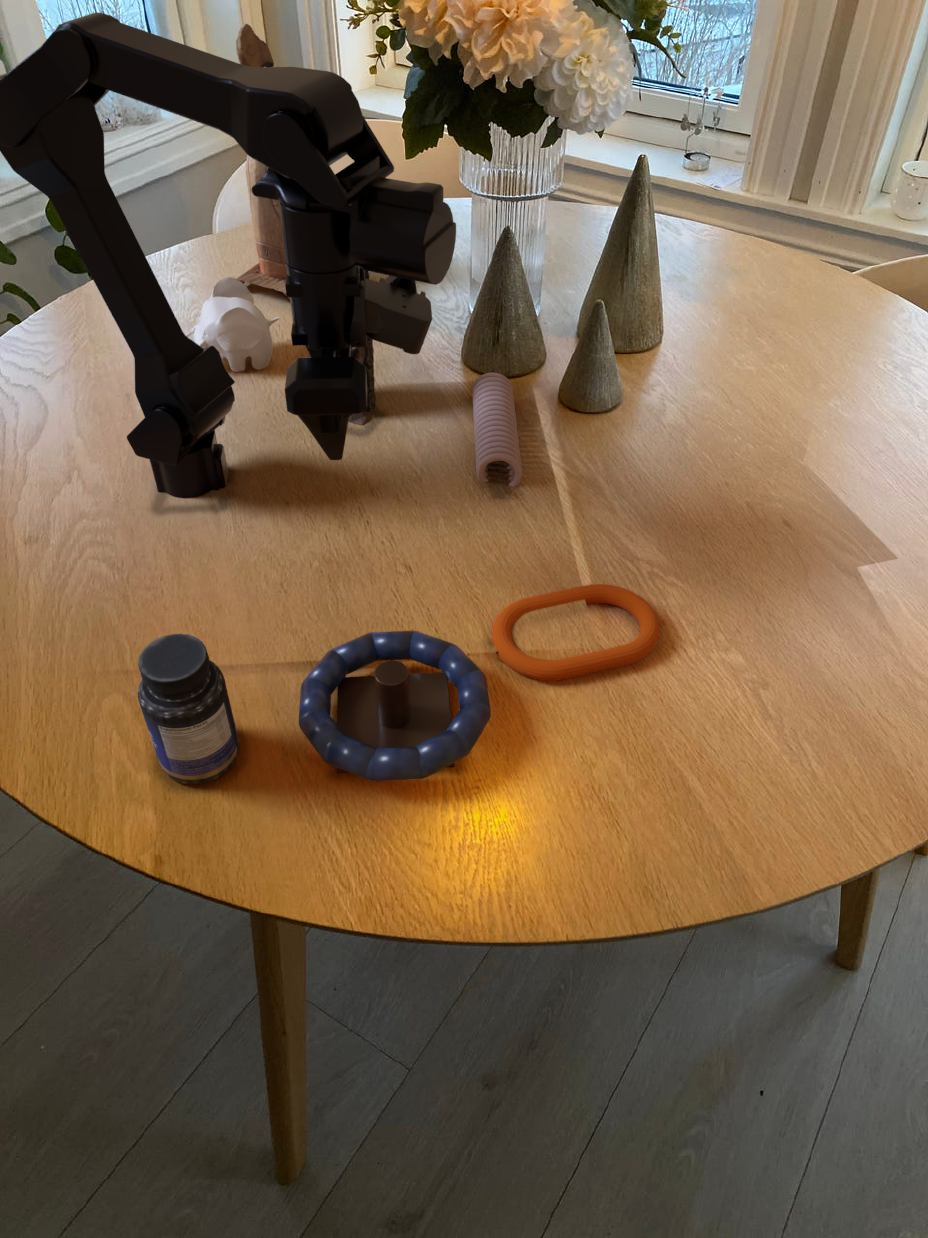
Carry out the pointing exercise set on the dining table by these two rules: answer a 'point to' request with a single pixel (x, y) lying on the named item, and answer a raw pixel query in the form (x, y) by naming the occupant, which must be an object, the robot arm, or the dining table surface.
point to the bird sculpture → (262, 209)
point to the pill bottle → (187, 709)
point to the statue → (367, 360)
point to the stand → (393, 707)
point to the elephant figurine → (234, 326)
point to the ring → (401, 759)
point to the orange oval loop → (584, 661)
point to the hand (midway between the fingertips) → (337, 429)
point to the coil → (495, 426)
